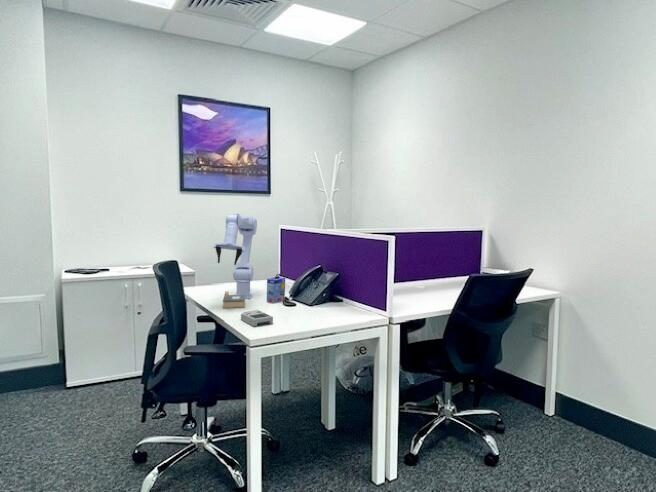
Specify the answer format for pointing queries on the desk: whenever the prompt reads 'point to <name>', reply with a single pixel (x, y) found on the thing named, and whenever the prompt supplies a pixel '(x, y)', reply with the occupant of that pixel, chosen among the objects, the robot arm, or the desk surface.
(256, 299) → the desk surface
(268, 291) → the ink cartridge box
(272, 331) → the desk surface
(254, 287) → the desk surface
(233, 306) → the kraft box
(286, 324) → the desk surface
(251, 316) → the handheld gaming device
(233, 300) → the lid
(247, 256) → the robot arm
